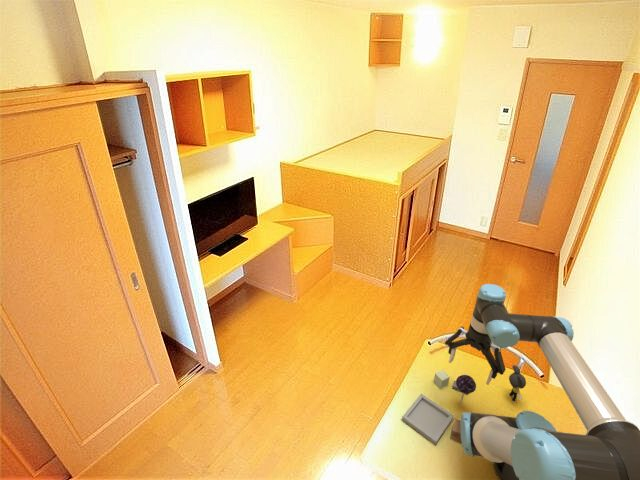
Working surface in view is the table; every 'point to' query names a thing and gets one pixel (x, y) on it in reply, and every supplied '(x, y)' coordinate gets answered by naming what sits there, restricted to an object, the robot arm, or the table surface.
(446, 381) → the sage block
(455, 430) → the walnut cube
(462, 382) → the lollipop
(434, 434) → the tray
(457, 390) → the rubber eraser
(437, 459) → the table surface
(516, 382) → the toy
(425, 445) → the table surface
